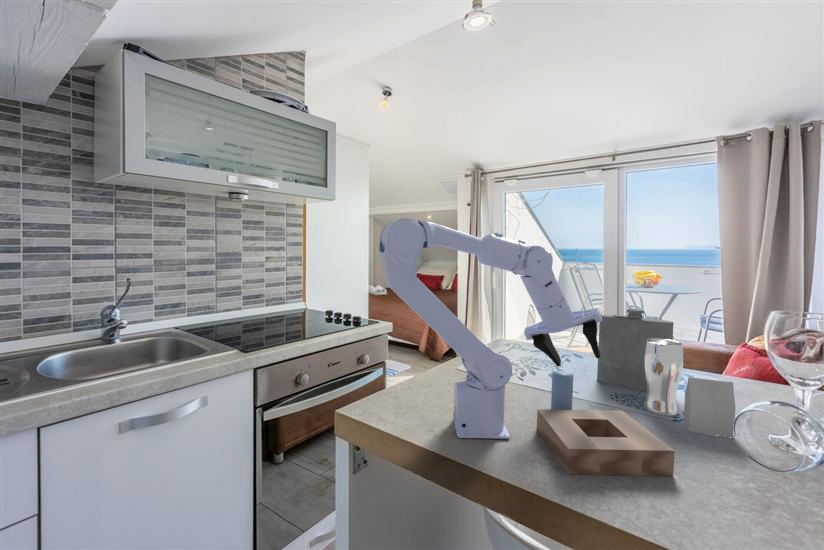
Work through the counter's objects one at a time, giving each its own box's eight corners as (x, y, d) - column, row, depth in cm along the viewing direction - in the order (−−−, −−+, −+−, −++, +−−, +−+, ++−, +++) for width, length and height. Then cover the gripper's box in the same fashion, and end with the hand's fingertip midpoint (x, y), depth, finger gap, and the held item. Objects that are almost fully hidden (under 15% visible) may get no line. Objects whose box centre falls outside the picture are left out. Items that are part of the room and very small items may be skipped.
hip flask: (669, 391, 90) (674, 311, 89) (669, 396, 87) (674, 313, 86) (597, 378, 99) (601, 305, 98) (595, 382, 96) (598, 306, 95)
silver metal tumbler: (662, 418, 75) (666, 346, 74) (633, 405, 82) (637, 338, 81) (688, 415, 77) (692, 344, 76) (658, 402, 84) (661, 337, 83)
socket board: (567, 474, 56) (568, 448, 55) (536, 429, 70) (537, 409, 69) (673, 476, 55) (674, 450, 55) (621, 431, 69) (622, 410, 69)
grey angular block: (733, 438, 67) (737, 385, 67) (688, 431, 70) (691, 380, 69) (725, 430, 71) (729, 379, 70) (683, 423, 73) (686, 374, 73)
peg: (555, 420, 73) (556, 376, 73) (547, 412, 77) (549, 370, 77) (575, 421, 73) (576, 377, 73) (566, 412, 77) (568, 370, 77)
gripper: (588, 281, 71) (615, 339, 73) (517, 303, 78) (544, 356, 80) (588, 297, 65) (618, 360, 67) (512, 319, 72) (541, 375, 74)
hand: (578, 359), depth 73 cm, fingers open, 7 cm apart
